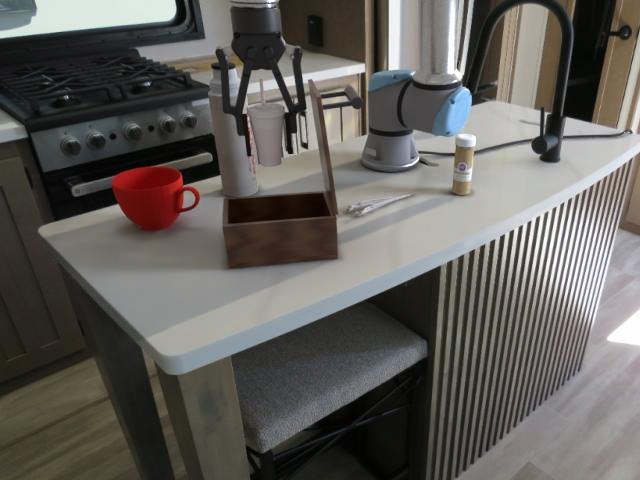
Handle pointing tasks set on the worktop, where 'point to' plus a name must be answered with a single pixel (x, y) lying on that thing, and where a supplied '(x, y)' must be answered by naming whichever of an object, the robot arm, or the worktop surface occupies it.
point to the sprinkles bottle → (463, 163)
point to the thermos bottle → (231, 139)
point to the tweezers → (373, 204)
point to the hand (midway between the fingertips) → (269, 152)
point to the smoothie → (267, 129)
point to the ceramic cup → (152, 196)
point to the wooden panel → (321, 132)
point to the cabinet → (279, 229)
